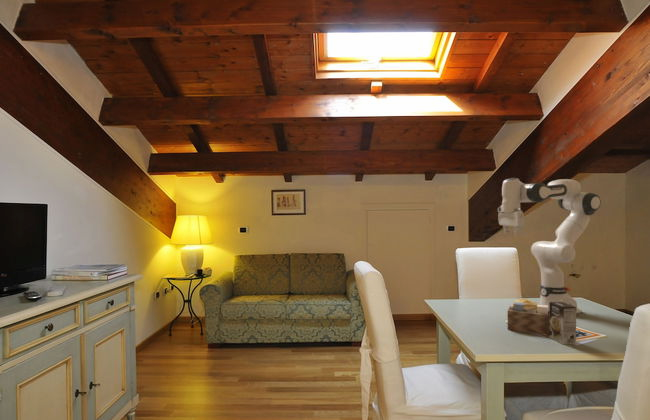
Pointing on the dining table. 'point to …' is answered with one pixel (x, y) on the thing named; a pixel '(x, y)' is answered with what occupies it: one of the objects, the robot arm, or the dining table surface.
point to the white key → (542, 309)
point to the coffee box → (562, 322)
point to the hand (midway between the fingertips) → (511, 234)
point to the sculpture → (527, 303)
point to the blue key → (518, 306)
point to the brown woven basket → (528, 321)
